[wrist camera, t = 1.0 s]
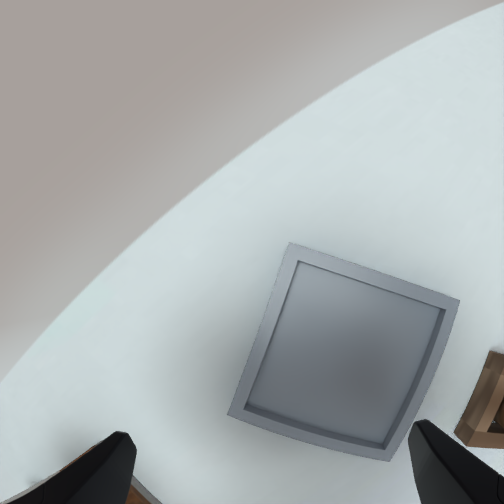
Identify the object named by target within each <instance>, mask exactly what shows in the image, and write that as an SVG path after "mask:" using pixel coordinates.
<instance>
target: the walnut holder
mask: <svg viewBox="0 0 504 504" xmlns="http://www.w3.org/2000/svg"><path fill="white" fill-rule="evenodd" d="M503 397H504V355H503V354H500V353H497V352H493V351H489V354H488V357H487V360H486V362H485V365H484V368H483V370H482V373H481V375H480V378H479V380H478V383H477V385H476V387H475V390H474V392H473V394H472V397H471V399H470V401H469V403H468V405H467V407H466V409H465V411H464V414H463V416H462V418H461V420H460V421H459V423H458V425H457V427H456V429H455V431H454V434H455V435H456V436H457V437H458V438H459V439H460V440H461V441H462V442H463V443H464V444H465V445H466V446H468V447H480V448H496V449H504V428H503V427H502V426H500V425H499V424H498V423H492V421H493V419H494V417H495V414H496V412H497V410H498V408H499V406H500V404H501V402H502V399H503Z"/></svg>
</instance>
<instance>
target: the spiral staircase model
mask: <svg viewBox="0 0 504 504" xmlns="http://www.w3.org/2000/svg"><path fill="white" fill-rule="evenodd" d="M101 442H102V441H101ZM99 443H100V442H99ZM99 443H98V444H99ZM98 444H96V445H98ZM96 445H94V446H93V447H91V448H90V449H89V450H87V451H86V452H85V453H83V454H82V455H80V456H79V457H78V458H76V459H75V460H74V461H76V460H77V459H79V458H80V457H81V456H83V455H84V454H86V453H87V452H88V451H90V450H91V449H92V448H94V447H95V446H96ZM74 461H72V462H71V463H69V464H68V465H67V466H69V465H70V464H72V463H73V462H74ZM67 466H65V467H64V468H66V467H67ZM64 468H62V469H61V470H60V471H62V470H63V469H64ZM60 471H58V472H56V473H55V474H53V475H51V476H49V477H48V478H46V479H44V480H42V481H41V482H39V483H37V484H35V485H34V486H32V487H30V488H28V489H26V490H24V491H23V492H21V493H19V494H17V495H15V496H13V497H11V498H9V499H7V500H5V501H3V502H1V503H0V504H7V503H9V502H11V501H13V500H15V499H17V498H19V497H21V496H23V495H25V494H27V493H28V492H30V491H32V490H33V489H35V488H36V487H38V486H39V485H41V484H42V483H45V482H46V481H47V480H49V479H50V478H51V477H53V476H54V475H56V474H57V473H59V472H60ZM125 504H162V503H161V502H159V501H158V500H157V499H156V498H155V497H154V496H153V495H152V494H151V493H150V492H149V491H148V490H147V489H146V488H145V487H144V486H143V485H142V484H141V483H140V482H139V481H138V480H137V479H136V478H135V477H134V476H133V475H132V481H131V486H130V490H129V494H128V497H127V500H126V503H125Z"/></svg>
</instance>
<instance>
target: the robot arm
mask: <svg viewBox="0 0 504 504" xmlns="http://www.w3.org/2000/svg"><path fill="white" fill-rule="evenodd" d="M408 445H409V450H410V456H411V461H412V467H413V473H414V479H415V483H416V487H417V490H418V494H419V497H420V501H421V504H504V477H503V476H502V475H501V474H499V473H498V472H496V471H495V470H494V469H492V468H491V467H490V466H488V465H487V464H485V463H484V462H483V461H481V460H480V459H479V458H477V457H476V456H475V455H473V454H472V453H471V452H469V451H468V450H467V449H465V448H464V447H463V446H461V445H460V444H459V443H458V442H456V441H455V440H454V439H452V438H451V437H450V436H448V435H447V434H446V433H444V432H443V431H442V430H441V429H439V428H438V427H437V426H435V425H434V424H433V423H431V422H430V421H429V420H427V419H423V420H419V421H416V422H415V423H414V424H413V426H412V429H411V432H410V434H409V437H408ZM136 454H137V449H136V446H135V444H134V443H133V441H132V439H131V437H130V436H129V434H128V433H126V432H120V431H116V432H114V433H113V434H111V435H110V436H109V437H107V438H106V439H105V440H103V441H102V442H100V443H99V444H98V445H96V446H95V447H94V448H92V449H91V450H90V451H88V452H87V453H86V454H84V455H83V456H81V457H80V458H79V459H77V460H76V461H74V462H73V463H72V464H70V465H69V466H67V467H66V468H64V469H63V470H62V471H60V472H59V473H57V474H56V475H54V476H53V477H51V478H50V479H49V480H47V481H46V482H45V483H42V484H41V485H39V486H38V487H36V488H35V489H33V490H32V491H30V492H28V493H27V494H25V495H23V496H21V497H19V498H17V499H15V500H13V501H11V502H9V503H7V504H125V503H126V500H127V497H128V494H129V490H130V486H131V481H132V475H133V470H134V464H135V459H136Z"/></svg>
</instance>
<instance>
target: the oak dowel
mask: <svg viewBox="0 0 504 504" xmlns="http://www.w3.org/2000/svg"><path fill="white" fill-rule="evenodd" d="M493 420H494V421H495V422H496V423H498V424H499V425H500V426H502V427H503V428H504V397H503V399H502V402H501V404H500V406H499V408H498V410H497V412H496V414H495V417H494V419H493Z"/></svg>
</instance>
